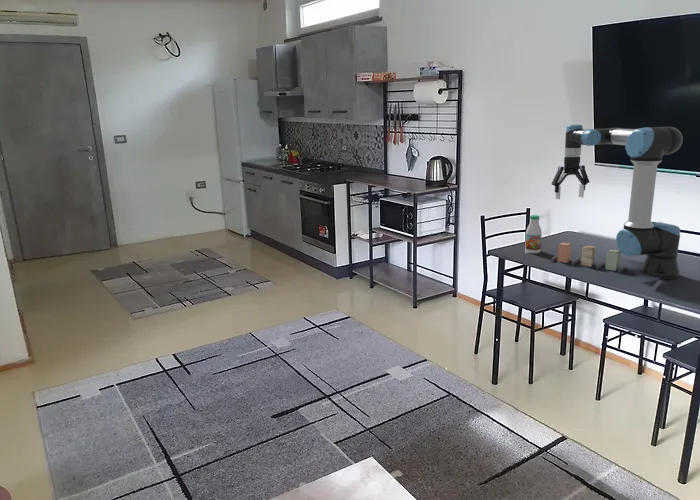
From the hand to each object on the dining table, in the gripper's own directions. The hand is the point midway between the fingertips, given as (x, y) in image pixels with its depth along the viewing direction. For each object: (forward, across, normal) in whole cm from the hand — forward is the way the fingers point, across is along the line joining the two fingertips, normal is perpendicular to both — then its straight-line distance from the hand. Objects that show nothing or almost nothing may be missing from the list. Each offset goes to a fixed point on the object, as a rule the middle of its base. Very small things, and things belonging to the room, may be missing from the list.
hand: (569, 198), depth 277 cm
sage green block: (+27, +2, +38) cm, 46 cm away
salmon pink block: (+27, +15, +20) cm, 36 cm away
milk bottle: (+28, +19, -1) cm, 34 cm away
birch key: (+27, +8, +29) cm, 40 cm away
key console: (+28, +8, +29) cm, 41 cm away
